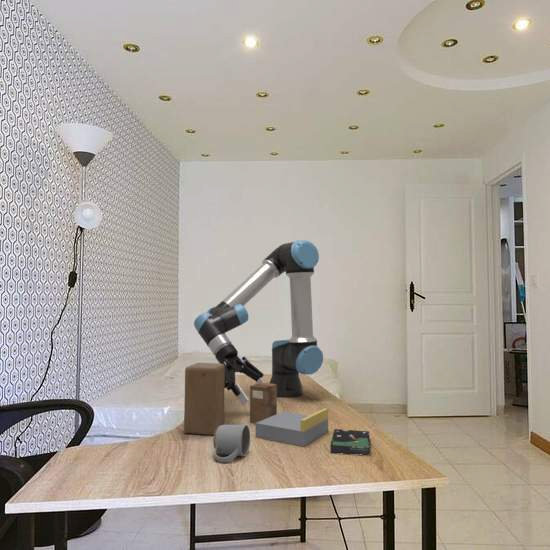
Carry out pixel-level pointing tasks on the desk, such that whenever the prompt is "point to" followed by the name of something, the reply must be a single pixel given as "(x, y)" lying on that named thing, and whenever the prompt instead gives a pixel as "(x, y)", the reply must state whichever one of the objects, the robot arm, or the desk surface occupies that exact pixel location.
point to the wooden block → (204, 398)
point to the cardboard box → (262, 401)
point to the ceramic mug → (231, 441)
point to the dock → (293, 427)
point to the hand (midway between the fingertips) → (257, 398)
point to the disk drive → (350, 442)
